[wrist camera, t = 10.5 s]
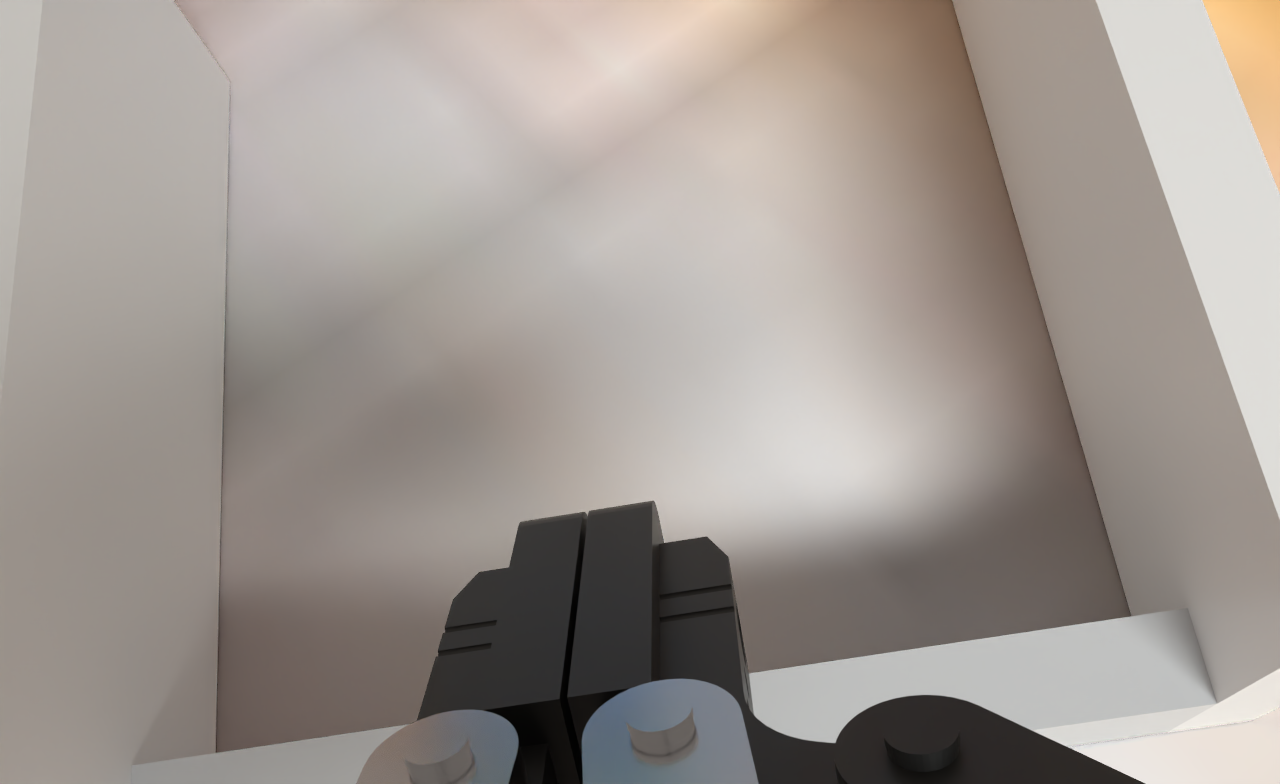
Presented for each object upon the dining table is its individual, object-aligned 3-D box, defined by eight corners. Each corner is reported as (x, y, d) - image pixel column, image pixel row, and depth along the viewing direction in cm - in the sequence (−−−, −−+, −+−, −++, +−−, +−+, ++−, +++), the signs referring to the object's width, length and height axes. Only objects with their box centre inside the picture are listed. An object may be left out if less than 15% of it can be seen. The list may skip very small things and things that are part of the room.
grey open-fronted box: (999, -66, 23) (1053, -371, 18) (1252, 721, 17) (1451, 623, 12) (172, 91, 24) (-14, -148, 19) (136, 879, 18) (-153, 858, 13)
